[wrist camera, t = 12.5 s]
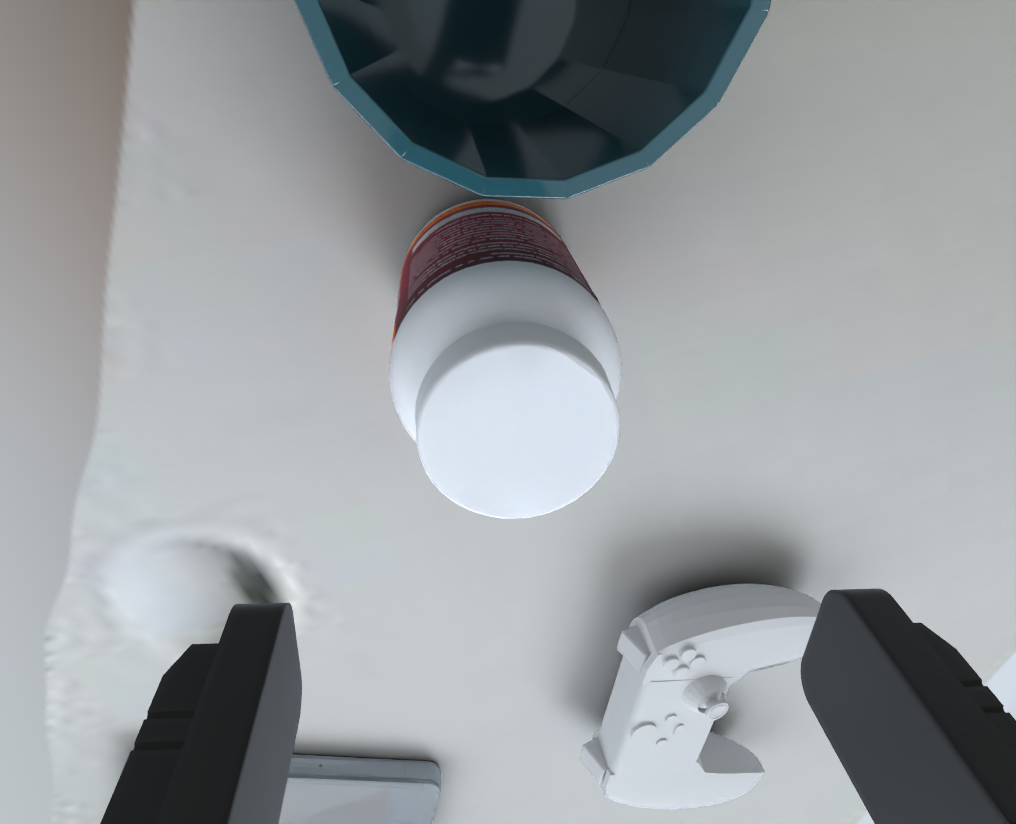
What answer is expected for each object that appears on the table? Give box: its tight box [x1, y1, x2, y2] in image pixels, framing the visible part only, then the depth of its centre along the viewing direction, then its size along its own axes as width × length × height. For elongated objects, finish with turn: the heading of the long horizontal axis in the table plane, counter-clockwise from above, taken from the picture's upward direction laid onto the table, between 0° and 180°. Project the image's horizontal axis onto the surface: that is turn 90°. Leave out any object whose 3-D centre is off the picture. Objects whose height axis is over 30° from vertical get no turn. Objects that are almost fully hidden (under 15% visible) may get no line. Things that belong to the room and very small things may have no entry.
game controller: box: [579, 584, 821, 809], centre depth 34 cm, size 14×4×10 cm
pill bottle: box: [390, 199, 621, 519], centre depth 21 cm, size 6×6×11 cm
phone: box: [121, 754, 441, 824], centre depth 38 cm, size 8×16×1 cm, turn 78°
